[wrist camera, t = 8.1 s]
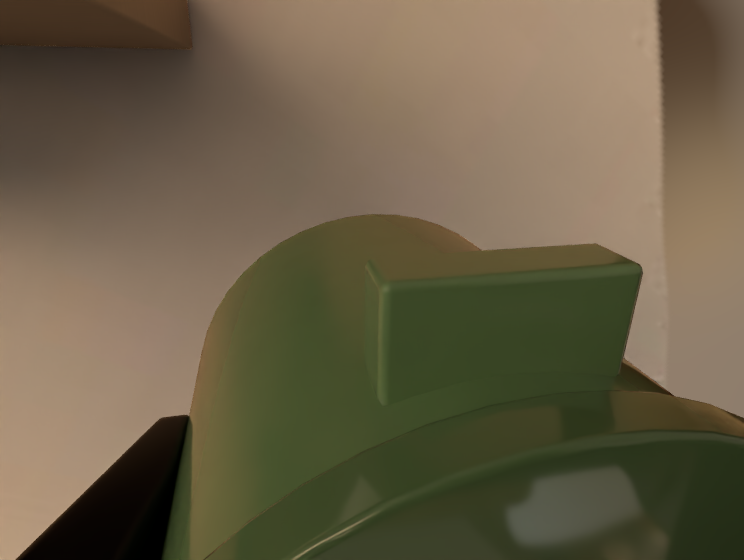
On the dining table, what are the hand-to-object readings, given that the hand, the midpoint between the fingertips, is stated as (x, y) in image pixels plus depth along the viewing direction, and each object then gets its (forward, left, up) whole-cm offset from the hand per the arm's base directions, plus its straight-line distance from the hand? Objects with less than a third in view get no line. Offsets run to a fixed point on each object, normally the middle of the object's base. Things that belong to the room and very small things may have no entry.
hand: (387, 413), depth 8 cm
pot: (0, 0, -1) cm, 1 cm away
